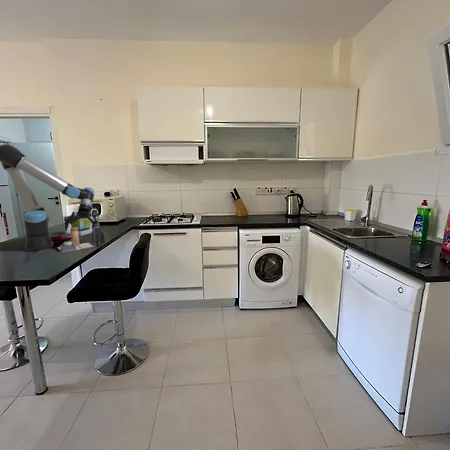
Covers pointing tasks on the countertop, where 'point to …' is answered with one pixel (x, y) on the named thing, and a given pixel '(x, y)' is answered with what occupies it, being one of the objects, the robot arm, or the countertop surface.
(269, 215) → the countertop surface
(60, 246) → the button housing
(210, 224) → the countertop surface
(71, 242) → the button
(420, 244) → the countertop surface
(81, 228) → the tea box
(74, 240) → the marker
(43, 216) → the robot arm
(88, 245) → the board
